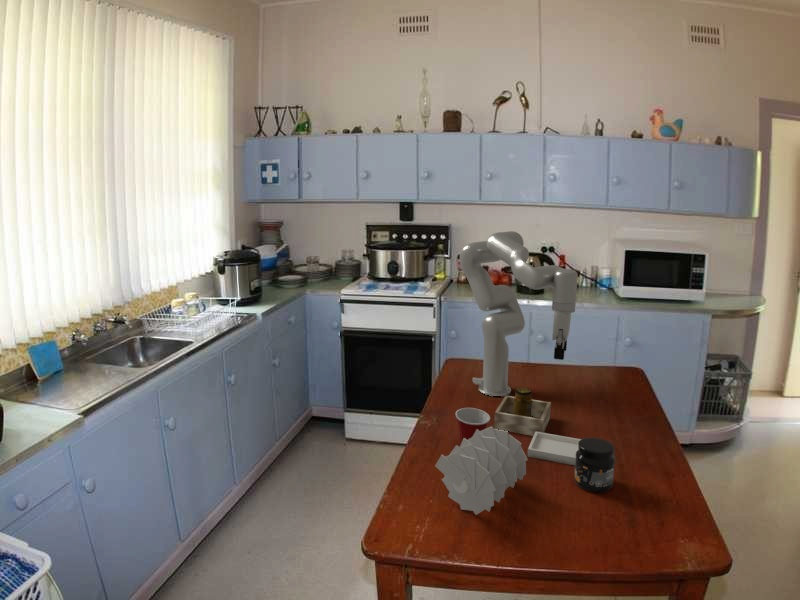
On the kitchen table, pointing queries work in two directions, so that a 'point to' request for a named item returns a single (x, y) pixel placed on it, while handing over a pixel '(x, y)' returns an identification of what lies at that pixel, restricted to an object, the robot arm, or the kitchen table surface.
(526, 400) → the condiment
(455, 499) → the spiral staircase
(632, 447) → the kitchen table surface
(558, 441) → the tray
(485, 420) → the plastic cup
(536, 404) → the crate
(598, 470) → the supplement container
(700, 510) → the kitchen table surface
